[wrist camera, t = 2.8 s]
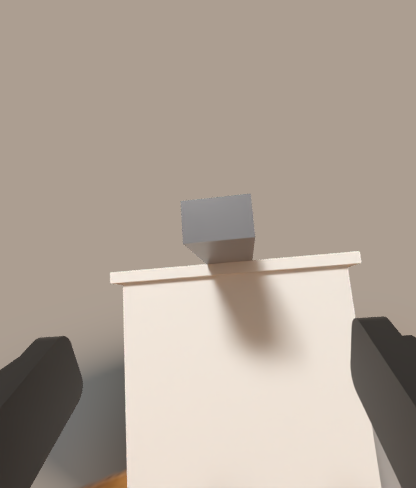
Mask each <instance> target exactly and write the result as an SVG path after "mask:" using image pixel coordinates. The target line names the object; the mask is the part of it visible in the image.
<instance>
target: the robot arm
mask: <svg viewBox="0 0 416 488" xmlns="http://www.w3.org/2000/svg"><path fill="white" fill-rule="evenodd" d="M350 369H351V376H352V381H353V384H354V387H355V390H356V392H357V395H358V397H359V399H360V401H361V403H362V405H363V407H364V409H365V411H366V414H367V416H368V418H369V420H370V422H371V424H372V426H373V428H374V430H375V433H376V435H377V437H378V439H379V441H380V443H381V445H382V447H383V450H384V452H385V454H386V456H387V458H388V460H389V462H390V464H391V466H392V469H393V471H394V473H395V475H396V477H397V479H398V481H399V483H400V485H401V488H416V338H415V337H414V336H412V335H406V336H402V335H401V334H400V333H399V332H398V330H397V329H396V328H395V327H394V325H393V324H392V323H391V322H390V321H389V320H388V318H386V317H369V318H354V319H353V321H352V328H351V360H350ZM82 388H83V381H82V377H81V373H80V370H79V367H78V364H77V361H76V357H75V355H74V351H73V348H72V345H71V342H70V341H69V339H68V338H67V337H65V336H59V337H44V338H38V339H36V340H35V341H34V342H33V343H32V344H31V345H30V346H29V347H28V348H27V349H26V350H25V352H24V353H23V354H22V355H21V356H20V357H18V358H17V359H15V360H14V361H13V362H11V363H10V364H8V365H7V366H5V367H4V368H2V369H1V370H0V488H30V487H31V485H32V483H33V481H34V480H35V478H36V476H37V474H38V473H39V471H40V469H41V467H42V466H43V464H44V462H45V460H46V458H47V457H48V455H49V453H50V451H51V450H52V448H53V446H54V444H55V443H56V441H57V439H58V437H59V436H60V434H61V432H62V430H63V428H64V426H65V425H66V423H67V421H68V420H69V418H70V416H71V414H72V413H73V411H74V409H75V407H76V405H77V404H78V402H79V400H80V397H81V394H82Z"/></svg>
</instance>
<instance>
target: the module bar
mask: <svg viewBox="0 0 416 488" xmlns="http://www.w3.org/2000/svg"><path fill="white" fill-rule="evenodd" d="M181 212H182V213H181V215H182V232H183V244H184V245H185V246H186V247H187V248H189V249H190V250H191V251H192V252H193V253H194V254H196V255H197V256H198V257H199V258H200V259H202V260H203V261H204V262H205V263H206V264H216V263H227V262H239V261H251V260H252V258H253V250H254V241H255V233H254V224H253V213H252V203H251V194H243V195H234V196H225V197H216V198H207V199H197V200H188V201H181Z"/></svg>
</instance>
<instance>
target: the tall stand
mask: <svg viewBox="0 0 416 488" xmlns="http://www.w3.org/2000/svg"><path fill="white" fill-rule="evenodd" d="M360 263H361V256H360V251H355V252H344V253H332V254H321V255H310V256H297V257H286V258H274V259H263V260H251V261H239V262H227V263H216V264H205V265H193V266H181V267H170V268H157V269H146V270H135V271H123V272H111V273H110V283H111V284H119V285H123V310H124V353H125V355H124V356H125V398H126V400H125V401H126V444H127V488H381V482H380V476H379V469H378V463H377V456H376V449H375V443H374V436H373V430H372V424H371V422H370V420H369V418H368V416H367V414H366V411H365V409H364V407H363V405H362V403H361V401H360V399H359V397H358V395H357V392H356V390H355V387H354V384H353V381H352V376H351V369H350V360H351V328H352V321H353V319H354V318H355V312H354V305H353V300H352V292H351V286H350V279H349V273H348V267H350V266H353V265H356V264H360Z"/></svg>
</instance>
